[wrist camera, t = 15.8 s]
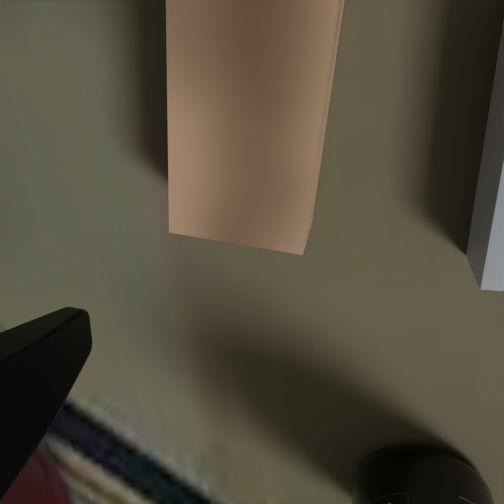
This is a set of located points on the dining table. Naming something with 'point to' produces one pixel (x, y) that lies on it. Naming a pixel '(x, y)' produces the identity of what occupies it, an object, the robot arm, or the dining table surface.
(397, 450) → the supplement bottle
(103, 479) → the dining table surface
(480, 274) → the cover
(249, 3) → the key box
